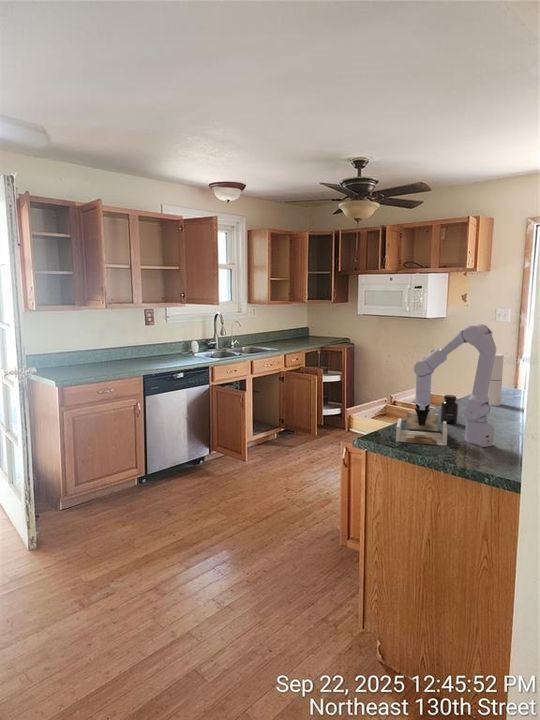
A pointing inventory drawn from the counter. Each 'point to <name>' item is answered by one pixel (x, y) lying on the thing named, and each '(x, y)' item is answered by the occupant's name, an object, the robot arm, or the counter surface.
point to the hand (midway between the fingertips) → (421, 423)
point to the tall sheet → (429, 424)
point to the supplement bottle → (449, 410)
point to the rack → (436, 436)
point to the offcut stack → (421, 439)
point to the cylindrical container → (496, 381)
